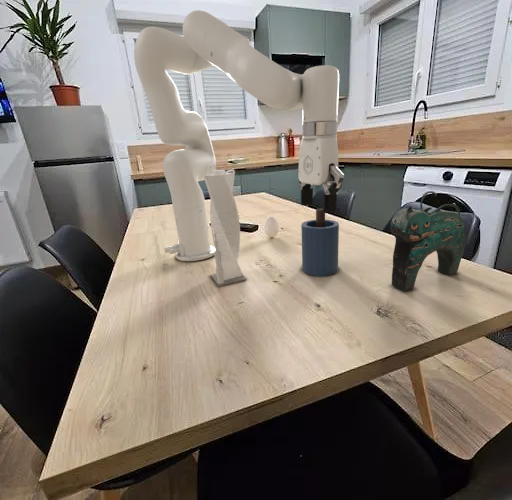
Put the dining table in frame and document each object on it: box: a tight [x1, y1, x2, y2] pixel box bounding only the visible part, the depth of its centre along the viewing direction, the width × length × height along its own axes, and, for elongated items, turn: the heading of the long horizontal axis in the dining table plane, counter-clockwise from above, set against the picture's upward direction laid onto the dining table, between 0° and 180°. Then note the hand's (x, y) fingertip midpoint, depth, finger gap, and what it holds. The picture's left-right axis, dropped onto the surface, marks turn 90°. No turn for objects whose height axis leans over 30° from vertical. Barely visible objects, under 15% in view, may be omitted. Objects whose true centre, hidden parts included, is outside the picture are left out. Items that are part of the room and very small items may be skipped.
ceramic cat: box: [390, 190, 467, 292], centre depth 63 cm, size 20×6×20 cm, turn 114°
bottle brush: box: [315, 207, 326, 227], centre depth 74 cm, size 4×4×15 cm
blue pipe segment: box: [300, 219, 340, 277], centre depth 74 cm, size 9×9×12 cm
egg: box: [263, 215, 280, 238], centre depth 105 cm, size 5×5×8 cm
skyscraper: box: [204, 163, 247, 287], centre depth 71 cm, size 8×8×28 cm
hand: (317, 207), depth 71 cm, fingers open, 9 cm apart
